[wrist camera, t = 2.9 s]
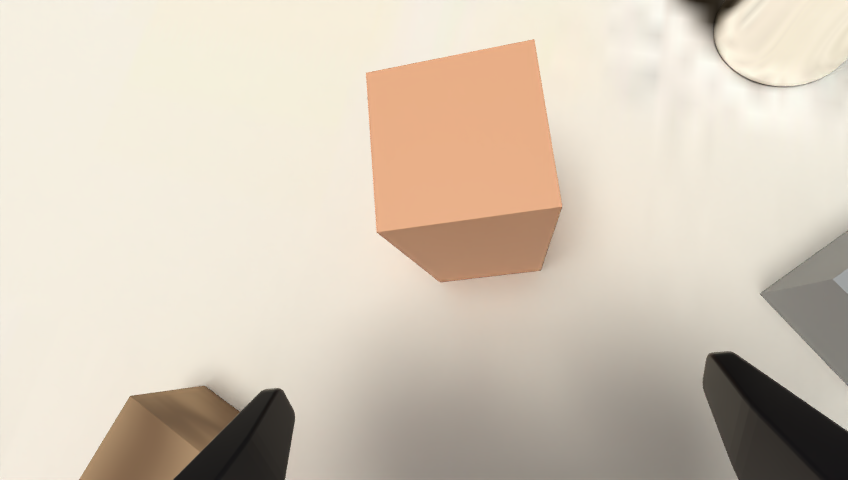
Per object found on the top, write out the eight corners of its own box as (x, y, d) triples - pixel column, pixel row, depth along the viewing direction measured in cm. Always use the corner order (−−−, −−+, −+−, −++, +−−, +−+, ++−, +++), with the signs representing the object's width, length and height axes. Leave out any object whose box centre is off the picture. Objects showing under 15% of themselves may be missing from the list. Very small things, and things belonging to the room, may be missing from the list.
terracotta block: (540, 270, 22) (562, 206, 12) (440, 282, 23) (376, 232, 13) (526, 174, 24) (534, 39, 13) (430, 189, 24) (366, 72, 14)
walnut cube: (276, 438, 23) (214, 463, 18) (224, 530, 23) (146, 580, 18) (205, 385, 25) (130, 395, 20) (154, 471, 24) (65, 502, 19)
